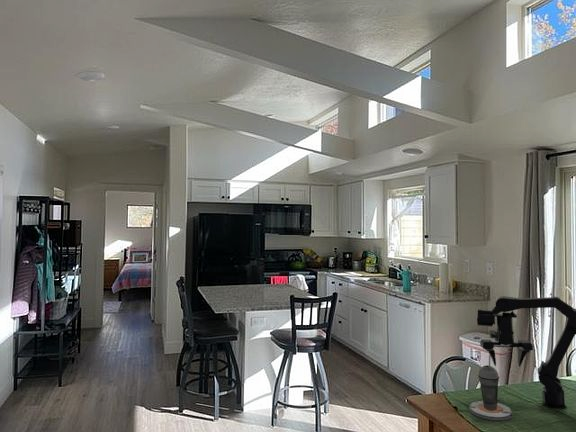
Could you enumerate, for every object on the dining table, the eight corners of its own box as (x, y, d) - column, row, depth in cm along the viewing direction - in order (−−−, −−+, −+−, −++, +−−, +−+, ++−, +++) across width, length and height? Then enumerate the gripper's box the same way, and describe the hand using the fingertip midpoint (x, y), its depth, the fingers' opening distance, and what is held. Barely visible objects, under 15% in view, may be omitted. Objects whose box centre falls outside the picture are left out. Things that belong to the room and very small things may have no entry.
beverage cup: (489, 402, 164) (486, 350, 165) (505, 409, 157) (502, 355, 158) (475, 406, 161) (472, 353, 162) (490, 413, 155) (487, 357, 156)
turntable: (504, 404, 165) (504, 401, 165) (516, 419, 151) (516, 416, 151) (466, 402, 167) (466, 399, 168) (474, 416, 154) (474, 414, 154)
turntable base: (505, 405, 165) (505, 403, 165) (518, 422, 150) (518, 420, 150) (465, 404, 168) (465, 401, 168) (473, 419, 153) (473, 417, 153)
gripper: (522, 324, 180) (525, 361, 179) (476, 323, 184) (478, 359, 183) (532, 329, 169) (534, 369, 168) (482, 328, 173) (484, 367, 172)
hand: (507, 366), depth 173 cm, fingers open, 9 cm apart
